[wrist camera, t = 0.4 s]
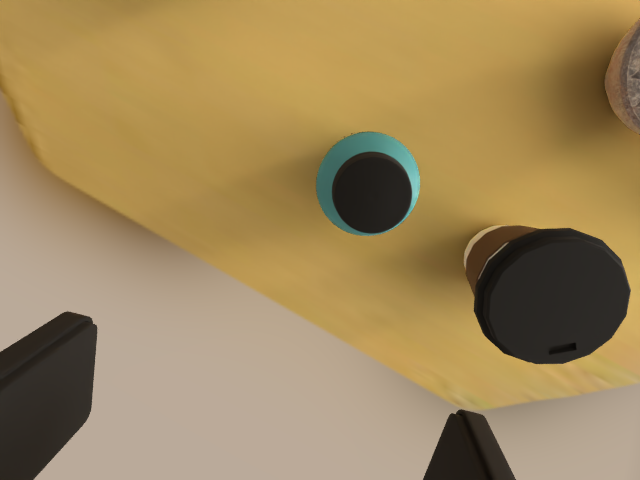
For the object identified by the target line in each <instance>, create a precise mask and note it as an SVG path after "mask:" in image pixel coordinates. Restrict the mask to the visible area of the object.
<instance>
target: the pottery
mask: <svg viewBox="0 0 640 480" xmlns="http://www.w3.org/2000/svg"><path fill="white" fill-rule="evenodd" d="M605 90H606V94H607V96H608V99H609V103H610V105H611V107H612V109H613V111H614V112H615V114H616V115H617V117H618V118H619V119H620V120H621V121H622V122H623V123H624V124H625V125H626V126H627V127H628V128H629V129H631V130H633V131H634V132H636V133H638V134H639V135H640V19H639V20H638V21H637V22H636V23H635V24H634V25H633V26H632V27H631V28H630V29H629V30H628V32H627V33H626V34H625V36H624V37H623V38H622V39H621V41H620V42H619V44H618V46H617V48H616V49H615V51H614V54H613V56H612V58H611V60H610V64H609V67H608V69H607V72H606V75H605Z"/></svg>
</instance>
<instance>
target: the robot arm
mask: <svg viewBox="0 0 640 480" xmlns="http://www.w3.org/2000/svg"><path fill="white" fill-rule="evenodd" d="M96 341H97V326H96V325H95V324H93V321H92V318H90V317H88V316H84V315H80V314H76V313H72V312H64V313H62V314H60V315H59V316H57V317H56V318H54V319H53V320H51V321H49V322H48V323H47V324H44V325H43V326H41V327H40V328H38V329H37V330H35V331H33V332H32V333H30V334H29V335H27V336H25V337H24V338H22V339H21V340H19V341H17V342H16V343H14V344H12V345H11V346H9V347H8V348H6V349H4V350H3V351H1V352H0V480H33V479H34V478H35V477H36V476H37V475H38V474H39V473H40V472H41V471H42V470H43V468H44V467H45V466H46V465H47V464H48V463H49V462H50V461H51V460H52V458H53V457H54V456H55V455H56V454H57V453H58V452H59V451H60V450H61V449H62V448H63V446H64V445H65V444H66V443H67V442H68V441H69V440H70V439H71V438H72V437H73V435H74V434H75V433H76V432H77V431H78V430H79V429H80V428H81V427H82V426H83V424H84V423H85V422H86V420H87V418H88V417H89V414H90V412H91V405H92V392H93V380H94V379H93V378H94V365H95V354H96ZM423 480H516V479H515V477H514V475H513V473H512V471H511V469H510V467H509V465H508V463H507V461H506V459H505V457H504V455H503V453H502V451H501V449H500V447H499V444H498V443H497V440H496V439H495V436H494V434H493V432H492V430H491V428H490V426H489V425H488V422H487V420H486V418H485V417H484V416H483V415H481V414H477V413H474V412H470V411H466V410H462V409H461V410H458V411H457V413H456V414H453V413H452V414H450V415H449V417H448V419H447V422H446V424H445V427H444V429H443V432H442V434H441V437H440V439H439V442H438V444H437V447H436V449H435V451H434V454H433V456H432V459H431V461H430V464H429V466H428V469H427V471H426V473H425V476H424V478H423Z"/></svg>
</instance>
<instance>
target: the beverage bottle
mask: <svg viewBox="0 0 640 480" xmlns="http://www.w3.org/2000/svg"><path fill="white" fill-rule="evenodd" d="M354 133H355V132H354ZM344 137H345V136H344ZM344 137H343V138H344ZM337 142H338V141H337ZM419 190H420V175H419V170H418V167H417V164H416V161H415V159H414V158H413V156H412V154H411V153H410V151H409V150H408V149H407V148H406V147H405V146H404V145H403V144H402V143H401V142H399V141H398V140H396V139H395V138H393V137H391V136H388V135H386V134H382V133H377V132H362V133H357V134H353V135H350V136H348V137H346V138H344V139H342V140H341V141H339V142H338V143H337V144H335V145H334V146H332V148H331V149H330V150H329V152H328V153H327V154H326V155H325V157H324V159H323V160H322V163H321V165H320V167H319V170H318V174H317V179H316V192H317V197H318V201H319V204H320V206H321V208H322V210H323V212H324V213H325V215H326V216H327V217H328V219H329V220H330V221H331V222H332V223H333V224H334V225H336V226H337V227H338V228H340V229H342V230H344V231H346V232H348V233H351V234H355V235H360V236H372V235H378V234H382V233H385V232H388V231H390V230H392V229H393V228H395V227H397V226H398V225H399V224H401V223H402V222H403V221H404V220H405V219H406V218H407V217H408V215H409V214H410V213H411V211H412V210H413V208H414V206H415V204H416V201H417V199H418V195H419Z"/></svg>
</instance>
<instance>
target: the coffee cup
mask: <svg viewBox="0 0 640 480" xmlns="http://www.w3.org/2000/svg"><path fill="white" fill-rule="evenodd" d="M464 266H465V269H466V276H467V279H468V281H469V284H470V286H471V289H472V292H473V294H474V297H475V300H474V312H475V315H476V317H477V319H478V322H479V324H480V327H481V329H482V332H483V334H484V335H485V336H486V337H487V338H488V339H489V340H490V341H491V342H492V343H493V344H494V345H495V346H497V347H498V348H499V349H500V350H501V351H502V352H503V353H504V354H507V355H510V356H513V357H516V358H518V359H521V360H524V361H527V362H532V363H535V364H563V363H566V362H569V361H572V360H575V359H578V358H581V357H584V356H587V355H590V354H591V353H592V352H594V351H595V350H596V349H598V348H599V347H600V346H602V345H603V344H604V343H606V342H607V341H608V340H610V339H611V338H612V336H613V335H614V333H615V332H616V330H617V329H618V327H619V326H620V324H621V323H622V321H623V320H624V318H625V317H626V314H627V308H628V303H629V297H630V292H631V290H630V287H629V283H628V280H627V277H626V273H625V270H624V267H623V265H622V261H621V259H620V258H619V257H618V256H617V255H616V254H615V253H614V252H613V251H612V250H611V249H610V248H609V247H608V246H607V245H606V244H605V243H604V242H603V241H602V240H600V239H598V238H595V237H593V236H590V235H587V234H584V233H582V232H579V231H576V230H573V229H571V228H560V229H537V228H531V227H525V226H509V225H498V226H491V227H489V228H487V229H484V230H482V231H480V232H479V233H478V234H477V235H475V236H474V237H473V238H472V239H471V240H470V242H469V244H468V246H467V248H466V250H465V252H464Z"/></svg>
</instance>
